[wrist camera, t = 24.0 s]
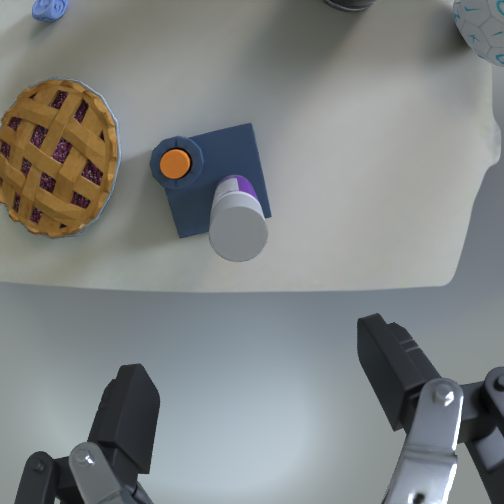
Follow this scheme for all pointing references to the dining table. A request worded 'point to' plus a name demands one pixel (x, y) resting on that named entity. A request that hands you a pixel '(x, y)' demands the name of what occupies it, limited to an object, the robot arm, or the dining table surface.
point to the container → (237, 220)
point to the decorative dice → (48, 9)
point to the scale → (209, 174)
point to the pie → (58, 157)
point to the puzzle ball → (482, 27)
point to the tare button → (174, 164)
